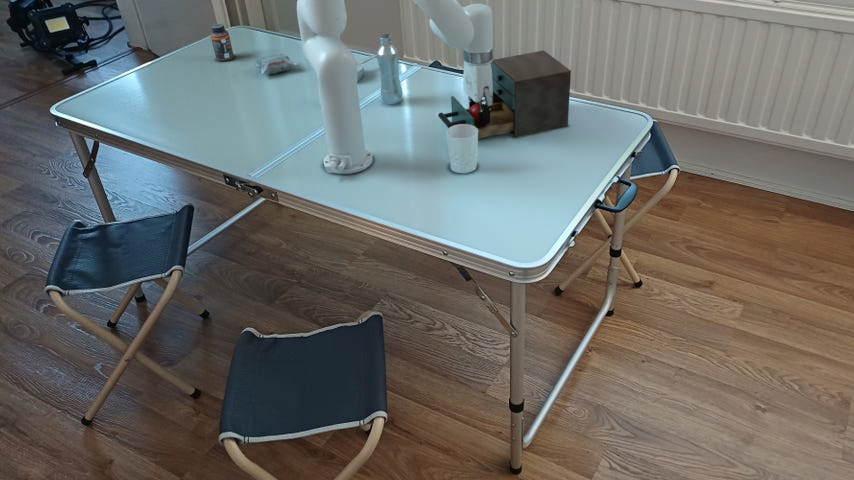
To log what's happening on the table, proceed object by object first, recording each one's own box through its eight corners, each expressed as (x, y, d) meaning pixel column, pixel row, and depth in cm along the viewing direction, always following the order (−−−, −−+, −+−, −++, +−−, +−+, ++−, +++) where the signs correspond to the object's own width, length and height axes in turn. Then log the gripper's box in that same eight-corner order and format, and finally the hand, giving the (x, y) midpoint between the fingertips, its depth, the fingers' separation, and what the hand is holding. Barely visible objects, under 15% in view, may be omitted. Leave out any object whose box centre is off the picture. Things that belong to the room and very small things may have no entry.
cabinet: (509, 138, 196) (510, 82, 186) (486, 115, 207) (485, 61, 198) (567, 126, 200) (571, 70, 191) (541, 103, 212) (543, 50, 202)
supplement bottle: (233, 61, 247) (225, 28, 240) (215, 62, 246) (207, 29, 239) (235, 54, 251) (227, 21, 244) (217, 56, 251) (209, 23, 244)
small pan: (324, 78, 232) (322, 67, 230) (367, 62, 242) (365, 50, 240) (345, 87, 226) (343, 76, 224) (388, 70, 236) (387, 58, 234)
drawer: (453, 149, 191) (452, 122, 187) (434, 125, 203) (432, 99, 198) (524, 133, 197) (525, 107, 192) (502, 111, 208) (502, 86, 204)
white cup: (461, 156, 189) (460, 121, 183) (485, 165, 185) (484, 129, 179) (441, 168, 184) (439, 132, 178) (465, 178, 180) (464, 141, 174)
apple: (487, 129, 196) (487, 105, 192) (466, 127, 197) (466, 104, 193) (492, 119, 200) (491, 96, 196) (471, 118, 202) (471, 95, 197)
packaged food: (298, 71, 237) (295, 57, 234) (262, 80, 233) (259, 65, 230) (289, 63, 243) (286, 49, 240) (255, 71, 239) (251, 56, 236)
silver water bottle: (404, 97, 219) (399, 31, 207) (401, 107, 214) (395, 40, 201) (383, 97, 219) (376, 31, 207) (379, 106, 214) (372, 40, 202)
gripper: (452, 46, 192) (455, 109, 203) (477, 69, 180) (478, 135, 191) (478, 41, 194) (480, 104, 205) (505, 64, 182) (505, 129, 193)
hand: (479, 118), depth 198 cm, fingers closed on apple, 5 cm apart
